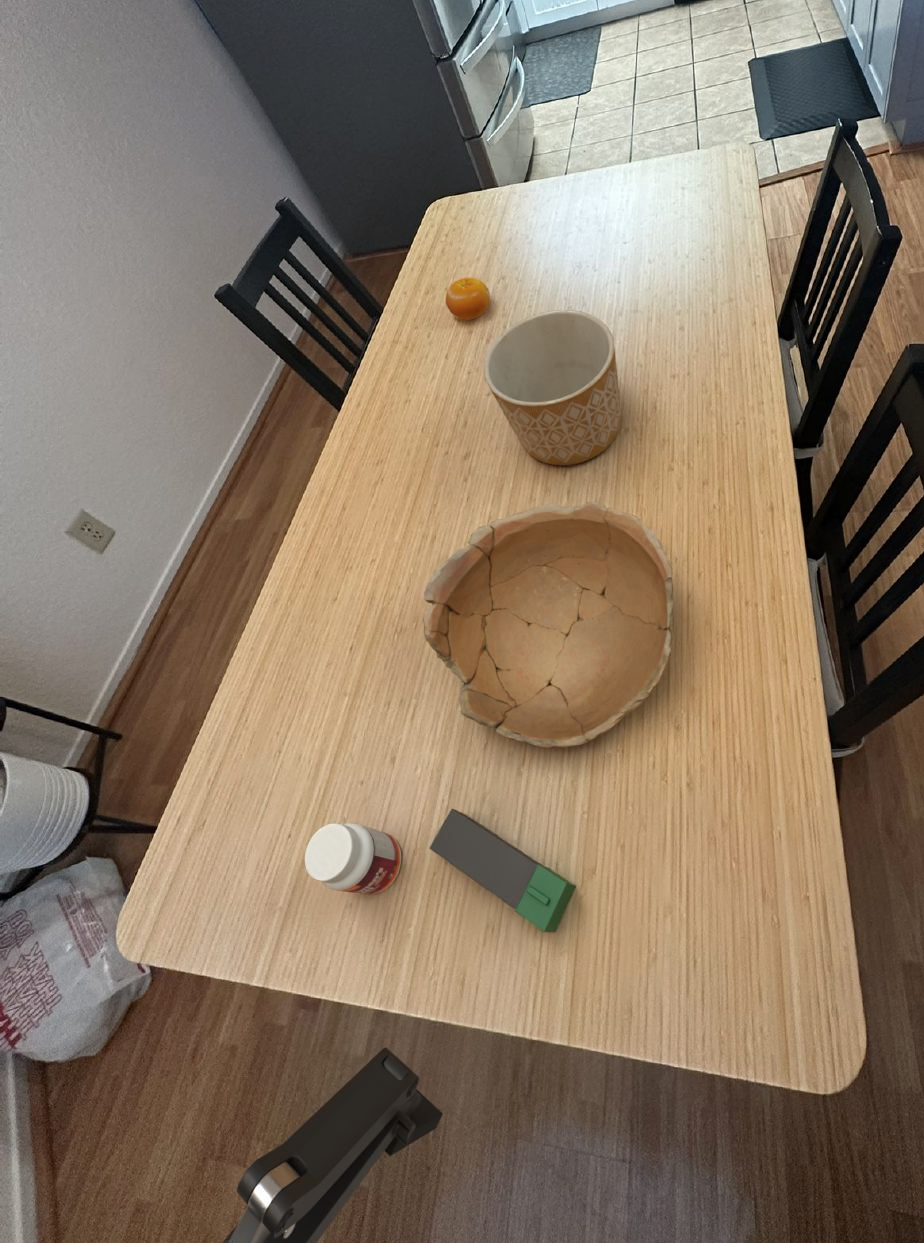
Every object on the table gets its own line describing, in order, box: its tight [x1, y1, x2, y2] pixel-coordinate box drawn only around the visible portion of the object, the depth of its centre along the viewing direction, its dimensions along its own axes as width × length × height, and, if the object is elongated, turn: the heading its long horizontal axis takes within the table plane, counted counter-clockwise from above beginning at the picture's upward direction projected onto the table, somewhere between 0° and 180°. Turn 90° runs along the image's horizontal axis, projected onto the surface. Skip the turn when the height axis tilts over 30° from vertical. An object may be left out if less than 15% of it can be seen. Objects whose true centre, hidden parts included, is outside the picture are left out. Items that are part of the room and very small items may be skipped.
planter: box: [483, 309, 623, 466], centre depth 99 cm, size 19×19×16 cm
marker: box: [429, 808, 577, 933], centre depth 68 cm, size 15×5×5 cm, turn 60°
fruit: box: [445, 277, 491, 321], centre depth 126 cm, size 8×8×8 cm
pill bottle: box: [304, 822, 402, 896], centre depth 69 cm, size 6×6×11 cm
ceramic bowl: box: [422, 501, 675, 749], centre depth 79 cm, size 30×27×15 cm
